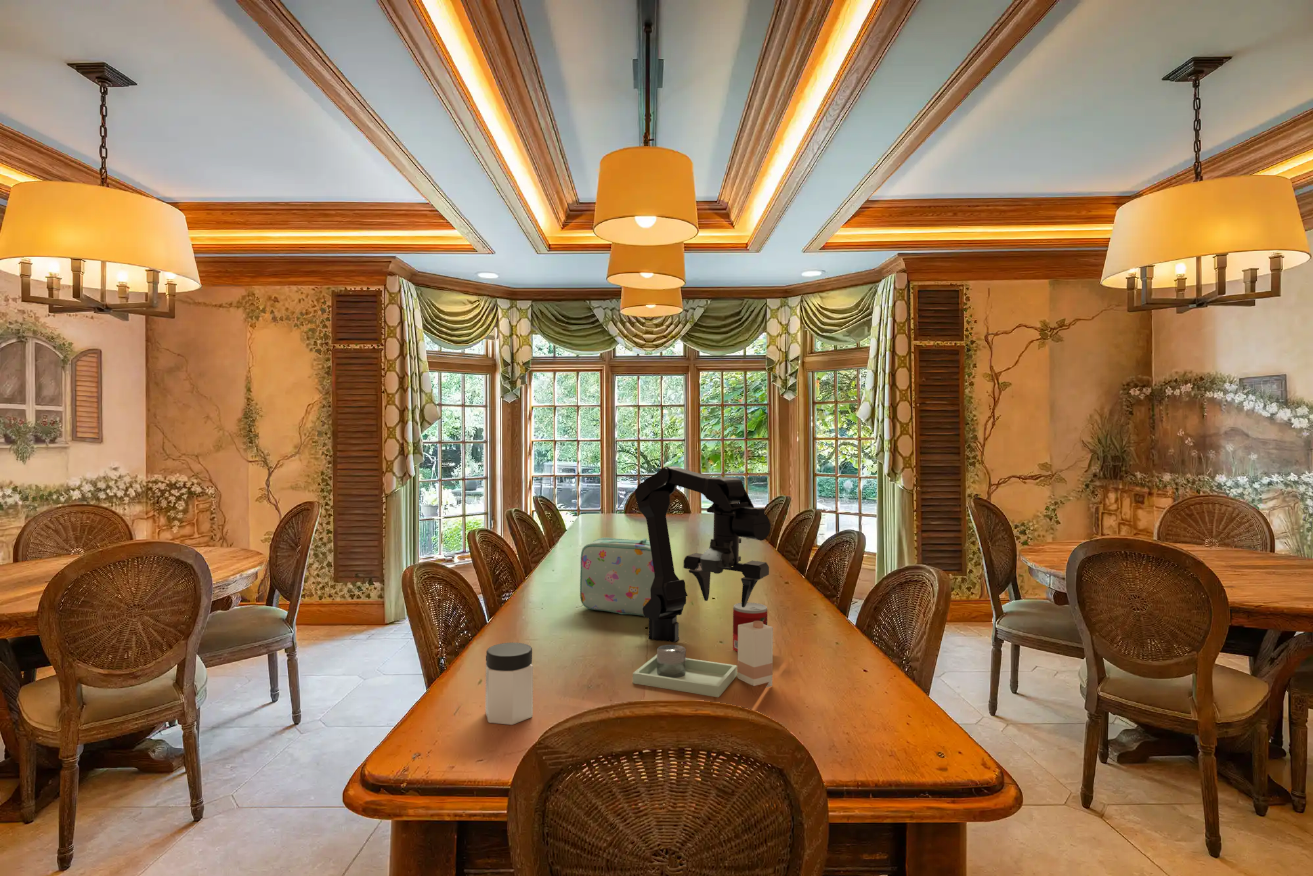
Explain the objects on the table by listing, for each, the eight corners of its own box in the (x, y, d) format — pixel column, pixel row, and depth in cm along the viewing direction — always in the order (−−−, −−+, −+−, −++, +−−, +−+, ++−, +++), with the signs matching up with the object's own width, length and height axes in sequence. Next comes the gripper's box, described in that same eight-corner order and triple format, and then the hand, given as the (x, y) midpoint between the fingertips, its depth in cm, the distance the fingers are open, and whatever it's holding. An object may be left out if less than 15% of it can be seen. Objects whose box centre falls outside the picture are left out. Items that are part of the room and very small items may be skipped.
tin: (652, 675, 141) (652, 651, 141) (663, 666, 147) (663, 643, 147) (679, 679, 139) (679, 655, 139) (689, 670, 144) (689, 647, 144)
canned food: (766, 659, 155) (766, 611, 155) (731, 657, 156) (731, 609, 156) (767, 649, 162) (768, 603, 162) (734, 646, 164) (734, 601, 164)
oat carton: (737, 683, 140) (738, 620, 140) (755, 678, 143) (756, 616, 143) (753, 690, 136) (754, 626, 136) (772, 686, 139) (773, 622, 139)
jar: (514, 702, 129) (515, 638, 129) (542, 713, 124) (543, 648, 124) (474, 716, 122) (474, 650, 122) (502, 729, 117) (503, 660, 117)
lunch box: (676, 611, 196) (677, 537, 196) (665, 620, 186) (665, 542, 186) (591, 602, 205) (592, 531, 205) (576, 611, 195) (577, 536, 195)
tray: (632, 688, 137) (632, 673, 137) (657, 667, 149) (657, 653, 149) (718, 702, 130) (718, 686, 130) (737, 679, 142) (737, 665, 142)
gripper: (672, 534, 150) (670, 605, 150) (750, 543, 140) (748, 619, 141) (695, 528, 160) (694, 594, 160) (770, 536, 150) (769, 607, 150)
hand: (724, 603), depth 152 cm, fingers open, 9 cm apart
